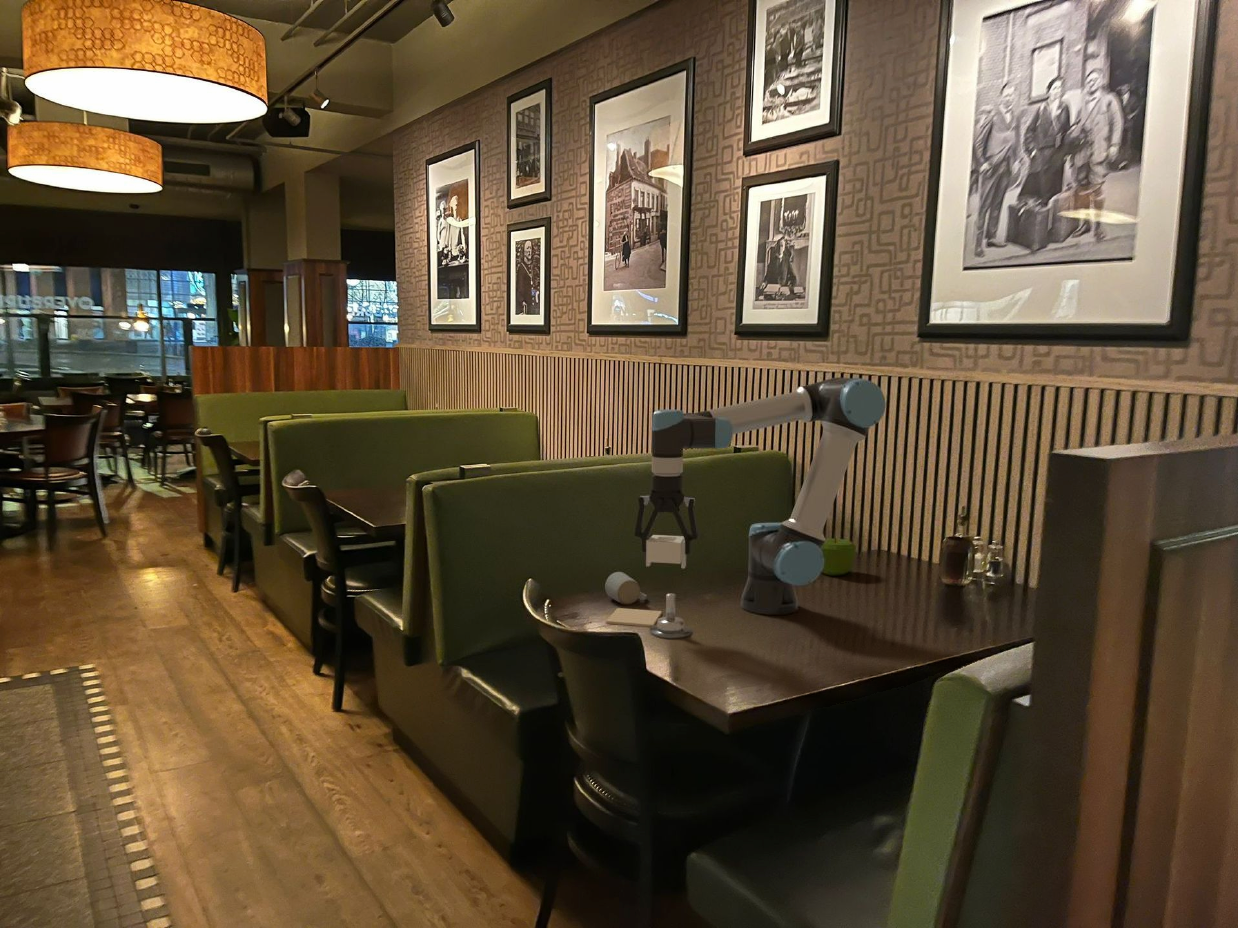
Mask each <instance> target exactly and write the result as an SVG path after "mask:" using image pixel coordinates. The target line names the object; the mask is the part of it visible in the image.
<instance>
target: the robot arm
mask: <svg viewBox="0 0 1238 928" xmlns="http://www.w3.org/2000/svg"><path fill="white" fill-rule="evenodd" d="M886 407H887V406H886V398H885V395H884V393H883V390H882V388H880V386H878V384H877V383H875V382H873V381H872V380H868V379H864V378H861V377H856V378H853V377H852V378H849V377H841V376H840V377H839V376H838V377H831V378H829V379H824V380H821V381H817V382H815V383H811V384H808V385H802V386H798V387H797V388H796V390H795V391H793V392H788V393H783V394H778V395H774V396H768V397H765V398H759V399H755V400H749V401H745V402H741V403H736V404H731V405H728V406H727V405H726V406H722V407H717V408H711V409H708V410H704V411H702V410H701V411H698V412H686V413H684V411H683V410H681V409H657V410H655V411H654V412H653V414H652V421H651V422H652V424H651V450H652V451H651V472H652V473H653V474H652V475H651V492H650V494H649V495H640V496H639V498H638V506H639V509H638V514H637V520H636V525H635V529H634V530H635V531H634V536H635V537H636V538H640V539H641V551H642V553H646V554H645V567H650V566H651V565H652V562H647V541H648V540H649V539H650V538H651V537H649V535H650V534H651V532H652V529H653V527H654V525H655V522H656V520H657V518H658V516H659V514H660V513H666V512H667V513H669V514H673V516H674V518H675V519H676V522H677V525H678V526H679V529H680V531H681V534H682V536H683V537H684V539H685V540H683V541H682V562H681V563H680V564H681V569H685V568H686V567H687V555H690V553H691V551H692V550H691V549H692V548H691V546H692V541H695V540H697V539H698V538H699V529H698V523H697V517H696V512H695V511H696V510H695V506H696V505H695V504H696V498H695V497H687V496H685V495H684V492H683V491H684V490H683V488H684V487H683V486H684V485H683V482H684V481H683V477H684V476H683V474H682V473H683V472H684V450H694V449H695V450H696V449H698V450H699V449H701V450H702V449H713V450H714V449H715V450H718V449H727V448H728V447H729V446H730V445H731V444H732V441H733V435H737V434H741V433H746V432H747V433H748V432H750V431H756V430H759V429H764V428H769V427H774V426H775V427H776V426H780V425H783V424H789V423H793V422H797V421H802V422H803V423H811V422H816V421H817V422H818V421H821V422H820V423H821V426H822V428H823V433H822V435H821V438H820V441H819V444H818V445H817V447H816V451H815V454H814V456H813V459H812V460H811V464H810V466H809V468H808V471H807V472H806V473H807V474H806V477H805V478H804V482H803V484H802V487H801V489H800V492H799V495H798V497H797V499H796V502H795V505H794V507H793V510H792V512H791V515H790V517H789V518H788V519H787V520H784V521H782V522H758V523H753V524H751V526H750V528H749V532H748V570H747V572H748V576H747V580H746V583H745V586H744V589H743V592H742V594H741V601H740V607H741V608H742V609H743V610H745V611H748V612H751V613H754V614H758V615H759V614H761V615H768V616H769V615H770V616H772V615H775V616H776V615H777V616H778V615H780V616H781V615H788V614H792V613H795V612H796V611H798V610H799V599H798V596H797V592H796V589H795V586H796V587H797V586H798V587H799V586H801V587H802V586H805V585H808V584H810V583H813V582H814V581H815V580H816V579H817V578H819V576H820V574H821V573H822V569H823V566H824V557H823V553H822V551H821V550H822V547H823V545H824V542H825V539H826V538H825V535H824V533H823V530H824V527H825V524H826V522H827V519H828V517H829V514H830V512H831V509H832V507H833V504H834V502H835V499H836V496H837V493H838V492H839V489H840V486H841V484H842V481H843V479H844V477H845V474H846V471H847V469H848V466H849V464H850V461H851V458H852V455H853V453H854V450H855V448H856V446H857V443H859V442H860V441H863V440H865V439H866V438H867V435H868V433H869V431H870V427H873V426H874V425H876V424H878V423H879V422H880V421H881V420H882V418H883V416H885V415H884V414H885V413H886ZM649 501H650V502H651V503H652V505H653V511H652V514H651V516H650V518H649V520H648V522H647V524H646V527H645V529H644V531H642V530H643V525H644V520H645V514H646V509H647V505H648V504H649ZM683 502H684V503H685V506H686V507H687V513H688V519H689V523H690V524H689V525H690V526H689V527H690V530H691V533H690V530H689V529H688V526H687V523H686V521H685V519H684V517H683V514H682V510H681V509H680V506H681V505H682V504H683Z"/></svg>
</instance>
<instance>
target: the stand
mask: <svg viewBox="0 0 1238 928" xmlns="http://www.w3.org/2000/svg"><path fill="white" fill-rule="evenodd" d="M665 601H666V602H665V616H662V617H661V616H660V617H659V618H658V620H657V621H656V622H657V624H654V626H653V627H649V628H650V629H649V633H650V635H651V636H654V637H656V638H661V639H667V640H671V639H672V640H674V639H683V638H687V637H690V635H691V634H692V630H691V628H690V627H688V626H686V625H685V624H684V623H685V621H684V619H683V618H681V617H679V616H676V593H672V592H671V593H669V592H668V593H666V596H665Z"/></svg>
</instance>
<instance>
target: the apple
mask: <svg viewBox="0 0 1238 928" xmlns="http://www.w3.org/2000/svg"><path fill="white" fill-rule="evenodd" d="M821 551H822V553H823V557H824V566H823V569H822V571H821V573H823V574H824V575H826V576H833V577H835V576H837V577H838V576H843V575H845V574H847V573H849V572H850V571H852V569H853V564H854V560H855V556H856V551H857V545H855V544H854V542H852V541H850V540H847V539H842V538H836V537H833V538H825V542H824V545H823V547H822V550H821Z"/></svg>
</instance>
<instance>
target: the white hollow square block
mask: <svg viewBox="0 0 1238 928" xmlns="http://www.w3.org/2000/svg"><path fill="white" fill-rule="evenodd" d="M649 538H650V539H649V540H648V541H647V562H651V563H660V564H661V563H662V564H679V565H680V564H682V541H683V540H685V539H684V537H683V535H664V534H662V535H661V534H653V535H652V536H650V537H649Z"/></svg>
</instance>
